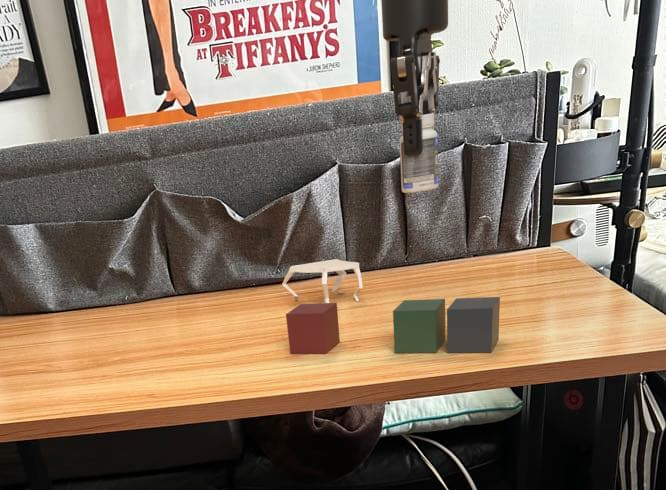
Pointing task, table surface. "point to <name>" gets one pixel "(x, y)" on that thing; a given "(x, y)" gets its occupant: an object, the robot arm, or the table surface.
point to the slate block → (473, 325)
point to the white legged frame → (324, 268)
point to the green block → (419, 326)
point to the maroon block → (313, 328)
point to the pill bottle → (421, 161)
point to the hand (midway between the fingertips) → (418, 152)
